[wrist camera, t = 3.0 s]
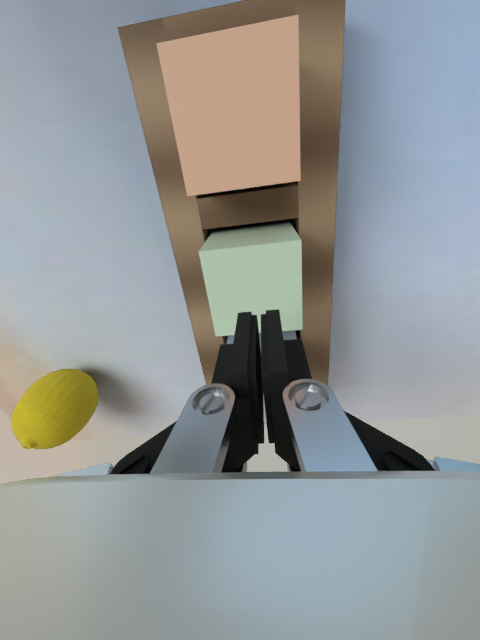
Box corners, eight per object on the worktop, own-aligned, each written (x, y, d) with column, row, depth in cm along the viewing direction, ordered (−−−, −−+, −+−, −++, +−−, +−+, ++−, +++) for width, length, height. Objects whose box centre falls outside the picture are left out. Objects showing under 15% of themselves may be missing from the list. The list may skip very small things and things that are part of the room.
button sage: (212, 231, 17) (198, 251, 13) (289, 221, 17) (301, 239, 13) (224, 300, 20) (215, 336, 16) (292, 293, 19) (302, 329, 15)
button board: (142, 52, 15) (117, 27, 12) (328, 15, 14) (346, -22, 11) (215, 382, 26) (211, 405, 24) (319, 375, 25) (327, 399, 23)
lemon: (45, 367, 26) (-30, 438, 19) (81, 343, 25) (12, 410, 18) (89, 401, 29) (35, 476, 22) (124, 381, 27) (78, 455, 20)
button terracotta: (187, 83, 14) (156, 43, 9) (284, 65, 13) (298, 14, 9) (205, 189, 16) (187, 196, 12) (288, 177, 16) (300, 180, 11)
